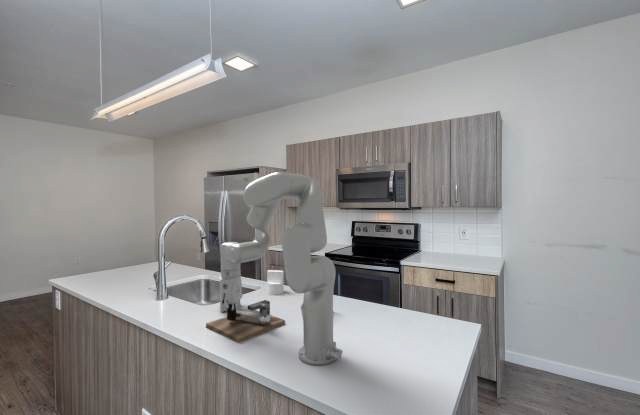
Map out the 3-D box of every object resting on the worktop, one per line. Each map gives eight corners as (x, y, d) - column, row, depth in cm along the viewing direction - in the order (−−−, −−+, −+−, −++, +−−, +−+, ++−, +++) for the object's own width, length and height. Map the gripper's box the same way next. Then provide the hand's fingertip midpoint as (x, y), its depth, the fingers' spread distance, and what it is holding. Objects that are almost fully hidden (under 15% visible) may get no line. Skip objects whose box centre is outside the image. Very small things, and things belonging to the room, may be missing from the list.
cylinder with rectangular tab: (285, 290, 170) (285, 269, 170) (280, 295, 161) (280, 273, 161) (270, 289, 172) (270, 268, 172) (264, 294, 163) (264, 272, 163)
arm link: (272, 322, 120) (272, 303, 119) (266, 326, 115) (266, 307, 115) (233, 316, 127) (233, 297, 127) (226, 319, 123) (226, 301, 123)
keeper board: (285, 323, 123) (284, 304, 123) (239, 343, 106) (238, 320, 106) (251, 311, 137) (251, 294, 137) (206, 327, 120) (205, 307, 120)
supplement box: (239, 304, 148) (239, 273, 148) (240, 310, 139) (240, 277, 139) (220, 306, 145) (219, 274, 145) (219, 312, 136) (219, 279, 136)
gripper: (231, 277, 112) (232, 327, 112) (247, 269, 127) (248, 313, 127) (212, 277, 114) (213, 326, 114) (230, 269, 128) (231, 312, 128)
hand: (231, 319), depth 120 cm, fingers closed
